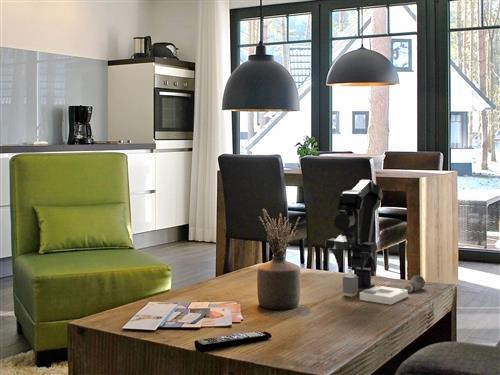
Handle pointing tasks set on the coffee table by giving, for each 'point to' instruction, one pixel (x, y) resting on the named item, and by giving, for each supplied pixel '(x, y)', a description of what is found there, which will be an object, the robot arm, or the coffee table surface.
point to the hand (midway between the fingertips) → (350, 268)
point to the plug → (350, 285)
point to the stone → (415, 283)
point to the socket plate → (383, 294)
